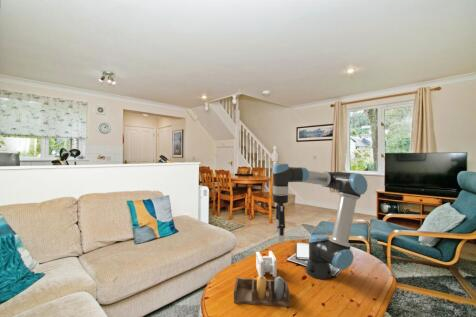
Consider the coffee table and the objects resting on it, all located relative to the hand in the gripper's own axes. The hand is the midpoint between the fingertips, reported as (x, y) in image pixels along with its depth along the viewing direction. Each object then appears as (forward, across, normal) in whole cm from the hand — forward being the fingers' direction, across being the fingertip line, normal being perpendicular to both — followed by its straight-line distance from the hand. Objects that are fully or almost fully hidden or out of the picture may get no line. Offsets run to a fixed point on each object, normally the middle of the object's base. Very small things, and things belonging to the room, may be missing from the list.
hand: (279, 236), depth 110 cm
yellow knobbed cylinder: (+30, 0, -9) cm, 32 cm away
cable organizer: (+32, -24, -6) cm, 41 cm away
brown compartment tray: (+32, -2, -9) cm, 33 cm away
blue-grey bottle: (+30, 0, 0) cm, 31 cm away
